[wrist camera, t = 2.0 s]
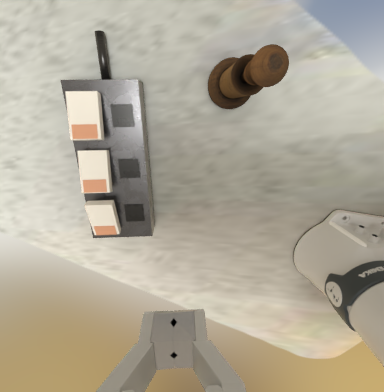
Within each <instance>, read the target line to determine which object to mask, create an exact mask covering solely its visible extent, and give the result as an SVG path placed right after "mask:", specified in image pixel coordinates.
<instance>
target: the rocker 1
mask: <svg viewBox="0 0 384 392" xmlns="http://www.w3.org/2000/svg"><path fill="white" fill-rule="evenodd" d="M65 93H66V103H67V113H68V122H69V132H70V140H73V141H90V140H104V128H103V116H102V104H101V94H100V93H99V92H98V91H65Z"/></svg>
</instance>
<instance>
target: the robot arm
mask: <svg viewBox="0 0 384 392" xmlns="http://www.w3.org/2000/svg"><path fill="white" fill-rule="evenodd" d="M343 217H344V218H343ZM294 264H295V266H296V268H297V270H298V271H299V272H300V273H301V274H303V275H304V276H305V277H307V278H308V279H309V280H310V281H311V282H312V283H313V284H314V285H315V286H316V287H317V288H318V289H319V290H320V291H321V292H322V293H323V294H324V295H325V296H326V297H327V298H328V299H329V301H330V302H331V304H332V305H333V307H334V309H335V310H336V311H337V313H338V314H339V315H340V316H341V318H342V319H343V320H344V322H345V323H346V324H347V325H348V326H349V327H350V328H351V329H352V330H354V331H355V332H357V333H358V335H359V336H360V337H361V339H362V340H363V341H364V342H365V344H366V345H367V346H368V347H369V349H370V350H371V351H372V353H373V354H374V355H375V356H376V358H377V359H378V360H379V361H380V363H381V364H382V365H383V367H384V217H382V216H376V215H370V214H363V213H357V212H351V211H344V210H335V211H333V212H332V213H331V214H330V215H329V216H328V217H327V218H326V219H325V220H324V221H323V222H322V223H320V224H318V225H317V226H315V227H313V228H312V229H310V230H309V231H308V232H307V233H305V234H304V235H303V237H302V238H301V239H300V240H299V242H298V244H297V246H296V248H295V251H294ZM172 368H193V370H194V372H195V374H196V375H197V377H198V379H199V381H200V383H201V384H202V386H203V388H204V390H205V392H246V388H245V384H244V382H243V381H242V379H241V378H240V377H239V376H238V374H237V373H236V372H235V370H234V369H233V368H232V367H231V365H230V364H229V363H228V362H227V360H226V359H225V358H224V357H223V355H222V354H221V353H220V351H219V350H218V349H217V348H216V346H215V345H214V344H213V342H212V341H211V340H208V339H207V330H206V322H205V313H204V309H198V310H179V311H155V312H144V314H143V319H142V325H141V330H140V335H139V341H138V344H134V346H133V347H132V348H131V349H130V350H129V352H128V353H127V354H126V355H125V357H124V358H123V359H122V360H121V362H120V363H119V364H118V365H117V366H116V368H115V369H114V370H113V371H112V372H111V374H110V375H109V376H108V377H107V379H106V380H105V381H104V382H103V383H102V385H101V386H100V387H99V388H98V389H97V391H96V392H145V390H146V389H147V387H148V385H149V383H150V382H151V380H152V378H153V376H154V375H155V373H156V370H160V369H172Z"/></svg>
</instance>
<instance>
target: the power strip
mask: <svg viewBox="0 0 384 392" xmlns="http://www.w3.org/2000/svg"><path fill="white" fill-rule="evenodd" d="M95 37H96V44H97V50H98V57H99V64H100V71H101V78H102V80H61V84H62V89H63V94H64V99H65V104H66V108H67V103H66V93H65V91H98V92H99V93H100V94H101V104H102V116H103V128H104V140H90V141H73V142H74V147H75V152H76V157H77V162H78V152H77V151H89V150H109V154H110V167H111V179H112V192H110V193H84V195H85V200H86V202H87V201H97V200H114V203H115V207H116V211H117V215H118V219H119V223H120V227H121V231H120V234H117V235H94V232H93V229H92V226H91V229H92V234H93V238H105V237H133V236H152V235H153V230H154V226H155V221H154V209H153V198H152V186H151V174H150V163H149V151H148V139H147V128H146V116H145V104H144V93H143V83H142V82H141V81H139V80H138V79H125V80H111V79H110V71H109V64H108V56H107V49H106V41H105V34H104V32H103V31H95ZM78 166H79V162H78Z"/></svg>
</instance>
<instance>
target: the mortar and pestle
mask: <svg viewBox="0 0 384 392" xmlns="http://www.w3.org/2000/svg"><path fill="white" fill-rule="evenodd" d="M288 66H289V59H288V55H287V53H286V51H285V50H284V49H283V48H282V47H280V46H278V45H273V44H271V45H267V46H264V47H262V48H261V49H260V50H259V51H257V53H256V54H255V55H253V54H249V55H245V56H242V57H241V58H235V57H232V58H227V59H224V60H223V61H221V62H220V63H218V64H217V65H216V67H215V68H214V69H213V71H212V72H211V74H210V77H209V81H208V91H209V95H210V97H211V99H212V100H213V102H214V103H215V104H216V105H218V106H219V107H221V108H225V109H233V108H237V107H239V106H241V105H243V104H244V103H245V102H246V101H247V100H248V99H249V97H250V96H251V95H254V94H256V93H258V92H259V91H260V90H261V89H262V88H263V87H270V86H273V85H275V84H277V83H278V82H280V81H281V80H282V79H283V77H284V76H285V74H286V72H287V70H288Z"/></svg>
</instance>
